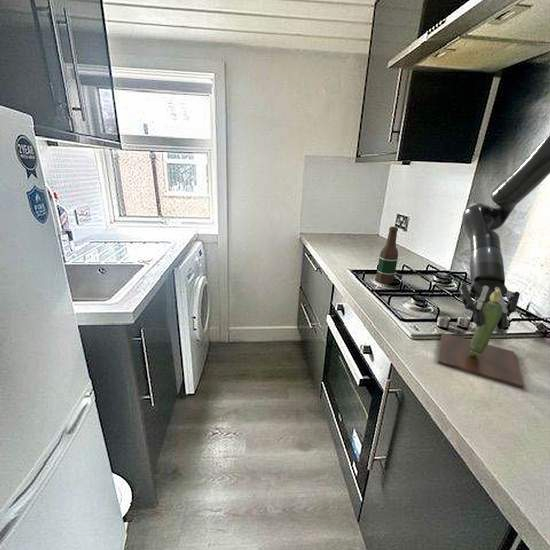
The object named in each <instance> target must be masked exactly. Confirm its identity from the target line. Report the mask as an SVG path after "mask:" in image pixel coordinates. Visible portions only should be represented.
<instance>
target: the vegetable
mask: <svg viewBox="0 0 550 550" xmlns="http://www.w3.org/2000/svg"><path fill="white" fill-rule="evenodd" d="M499 296H500V290H499V289H498V290H495V292H493V293H492V294H491V296H490V300H491V301H488V302H484V303H483V305H482V308H481V311H482V314H483V325H482V326H477V328H476V330H475V332H474V334H473V336H472V338H471V341H472V342H471V345H470V348H471V351H470V353H471V355H472V354H473V355H475V356H479V355H480V353H482V352H483V351H484V349H485V348H486V346H487V345H489V343H490V341H491V338H492V336H493V334H494V332H495V330H496V328H498V323H499V321H500V319H501V316H502V306H501V305H500V304H499V303H498V302H499V299H500V298H499Z"/></svg>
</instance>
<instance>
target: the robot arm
mask: <svg viewBox="0 0 550 550" xmlns="http://www.w3.org/2000/svg"><path fill="white" fill-rule="evenodd" d="M549 175H550V132H549V133H548V134H547V135H546V137H545V138H544V139H542V141H541V142H540V143H539V144H538V146H537V147H536V148H535V149H534V150H533V151H531V153H530V154H529V155H528V156H527V157H526V158H524V159H523V160H522V161H521V162H520V163H519V164H518V165H517V166H516V167H514V169H512V171H510V172H509V173H508V174H507V175H506V176H505V177H504V178H503V179H502V180H501V181H500V182H499V183H498V184H497V185H496V186H495V188H493V190H492V191H491V193H490V199H491V200H492V202H494V204H496V205H495V206H492V205H488V204H485V203H482V202H473V203H470V204H469V205H467V206H466V207H465V209H464V210H463V212H462V217H461V219H462V226H463V228H464V231H465V233H466V237H467V238H468V240H469V245H470V246H469V247H470V248H469V249H470V250H469V251H470V257H469V268H470V270H469V271H470V285H466V284H465V285H462V286H461V287H460V288H459V289H458V292H459V295H460V297H461V301H462V304H463V306H464V309H466V310H470V311H472V313H473V323H474V324H475V326H476V327H478V326H482V325H483V314H482V311H481V309H482V307H483V305H484V304H485V303H486V302H488V301H491V300H490V296H491V294H492V293H493V292H495V290H498V289H499V290H500V296H499V298H500V299H499V302H498V303H499V304H500V305H501V306H502V316H501V319H500V321H499V323H498V325H497V329H498V330H501V331H502V330H505V329H506V327H508V316H510V315H511V314H513V313H515V312H516V310H517V306H518V303H519V299H520V296H521V293H520V292H519V291H511V290H508V288H507V286H506V285H505V284H506V275H505V267H504V266H505V265H504V257H503V254H502V247H501V238H500V235H499V234H498V233H497V232H496V230H498V229H500V228H501V227H502V226H503V225H504V224H505V223H506V221H507V219H508V218H509V216H510V215H511V213H512V212H513V211H514V209H515V208H516V207H517V205H518V204H519V203H520V202H522V200H524V199H525V198H526V197H527V196H528V195H529V194H530V193H531V192H533V191H534V190H535V189H536V188H537V187H539V185H541V183H542V182H544V180H545V179H546V178H547V177H548V176H549ZM471 293H472V294H473V296H474V297H475V299H474V302H473V299H472V295H471ZM505 296H506V300H507V304H506V301H505V298H504V297H505Z"/></svg>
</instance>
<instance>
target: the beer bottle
mask: <svg viewBox="0 0 550 550" xmlns="http://www.w3.org/2000/svg"><path fill="white" fill-rule="evenodd" d="M398 231H399V227H397V226H389V228H388V235H387V239H386V243H385V245H384V246H383V247H382V249H381V251H380V253H379V258H378V262H377V270H376V275H375V281H376V282H377V283H378V284H384V285H391V284H393V283H394V280H395V275H396V271H397V266H398V265H397V264H398V258H399V251H398V248H397V237H398V236H397V234H398Z"/></svg>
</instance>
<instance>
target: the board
mask: <svg viewBox="0 0 550 550" xmlns="http://www.w3.org/2000/svg"><path fill="white" fill-rule="evenodd" d="M471 342H472V339H467V338H464V337H460V336H456V335H452V334H448V333H445V332H444V333H443V332H441V334H440V342H439V352H438V360H437V363H438V364H441V365H444V366H447V367H450V368H454V369H457V370H460V371H463V372H466V373H470V374H474V375H477V376H480V377H483V378H487V379H490V380H494V381H497V382H500V383H502V384H503V383H504V384H507V385H510V386H513V387H516V388H520V389H523V388H524V383H523V379H522V375H521V371H520V369H519V365H518V361H517V357H516V354H515V351H513V350H511V349H506V348H503V347H502V348H501V347H499V346H498V347H497V346H494V345H490V344H487V346H486V348H485V349H484V351H483V352H482V353H480V355H479V356H475V355H473V354H472V355H471V353H470V351H471V348H470V345H471Z"/></svg>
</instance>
